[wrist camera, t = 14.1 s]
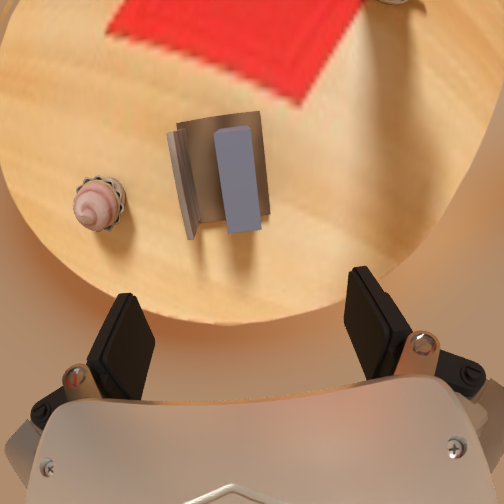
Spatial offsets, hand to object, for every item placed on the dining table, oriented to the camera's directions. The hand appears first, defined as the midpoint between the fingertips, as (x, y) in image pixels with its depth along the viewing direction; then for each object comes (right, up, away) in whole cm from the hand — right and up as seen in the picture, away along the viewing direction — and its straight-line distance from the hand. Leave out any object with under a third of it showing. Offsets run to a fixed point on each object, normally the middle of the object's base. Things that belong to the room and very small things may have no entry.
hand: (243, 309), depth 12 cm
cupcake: (-23, +12, +30) cm, 40 cm away
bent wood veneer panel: (-4, +15, +29) cm, 33 cm away
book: (-2, +15, +28) cm, 32 cm away
